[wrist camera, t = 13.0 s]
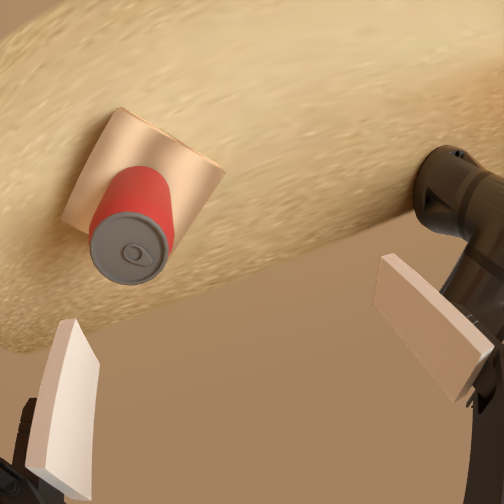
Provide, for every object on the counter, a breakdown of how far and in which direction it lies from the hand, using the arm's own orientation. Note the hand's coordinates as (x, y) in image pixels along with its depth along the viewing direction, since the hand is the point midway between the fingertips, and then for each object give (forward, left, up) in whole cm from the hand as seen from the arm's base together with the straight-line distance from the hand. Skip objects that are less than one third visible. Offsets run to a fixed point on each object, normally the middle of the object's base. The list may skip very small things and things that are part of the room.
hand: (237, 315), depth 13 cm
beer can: (+3, +4, -22) cm, 22 cm away
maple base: (+3, +4, -26) cm, 26 cm away
